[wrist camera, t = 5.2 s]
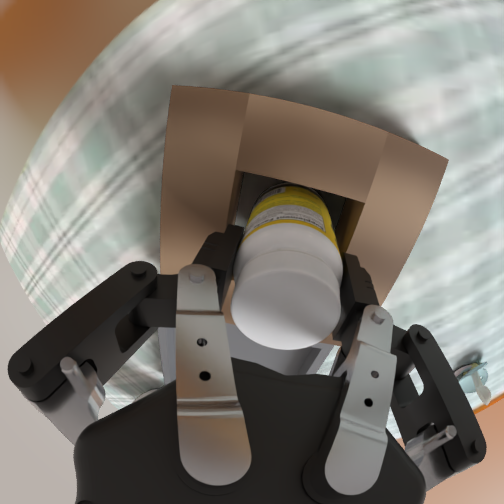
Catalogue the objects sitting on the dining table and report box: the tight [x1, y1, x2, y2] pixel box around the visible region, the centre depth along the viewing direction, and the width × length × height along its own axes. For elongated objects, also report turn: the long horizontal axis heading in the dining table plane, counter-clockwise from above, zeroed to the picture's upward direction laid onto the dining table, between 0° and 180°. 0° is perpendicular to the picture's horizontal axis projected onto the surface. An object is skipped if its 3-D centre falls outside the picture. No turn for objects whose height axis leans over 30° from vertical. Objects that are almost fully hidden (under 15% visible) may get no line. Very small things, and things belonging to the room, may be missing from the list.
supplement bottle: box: [231, 183, 343, 350], centre depth 13 cm, size 5×5×8 cm
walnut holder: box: [160, 85, 449, 346], centre depth 16 cm, size 14×14×4 cm
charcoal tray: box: [158, 323, 334, 385], centre depth 25 cm, size 16×14×2 cm
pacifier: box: [454, 362, 491, 405], centre depth 21 cm, size 7×6×6 cm
